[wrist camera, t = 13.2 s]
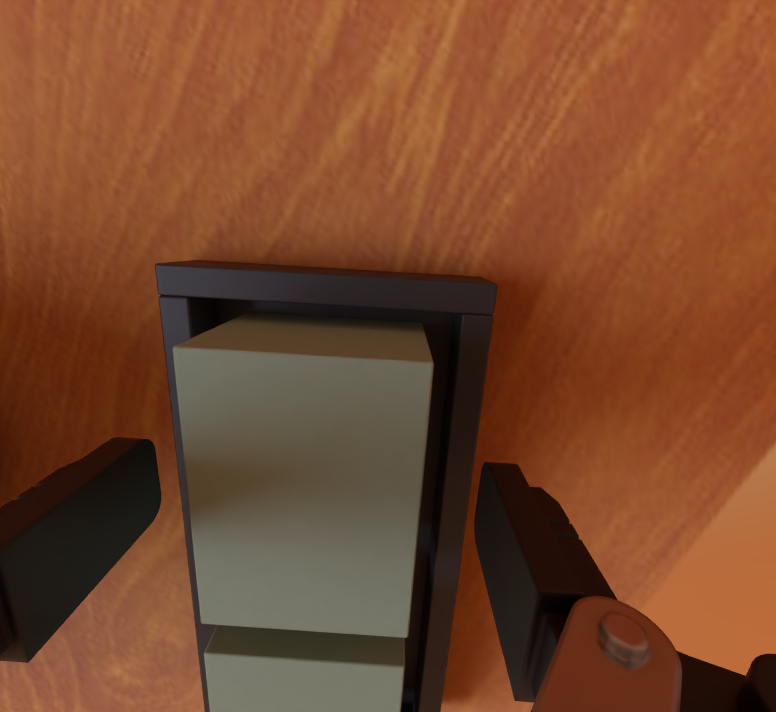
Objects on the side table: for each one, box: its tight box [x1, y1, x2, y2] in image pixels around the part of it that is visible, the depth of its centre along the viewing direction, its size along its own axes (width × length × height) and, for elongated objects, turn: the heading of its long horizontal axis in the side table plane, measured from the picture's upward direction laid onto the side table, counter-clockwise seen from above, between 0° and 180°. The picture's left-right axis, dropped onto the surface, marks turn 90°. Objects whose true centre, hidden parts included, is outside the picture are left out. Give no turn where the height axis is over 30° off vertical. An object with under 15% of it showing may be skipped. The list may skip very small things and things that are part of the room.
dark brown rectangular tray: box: [155, 260, 497, 712], centre depth 13 cm, size 18×9×2 cm, turn 177°
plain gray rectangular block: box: [173, 312, 434, 638], centre depth 11 cm, size 7×5×4 cm
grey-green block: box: [204, 625, 405, 712], centre depth 13 cm, size 7×5×4 cm
